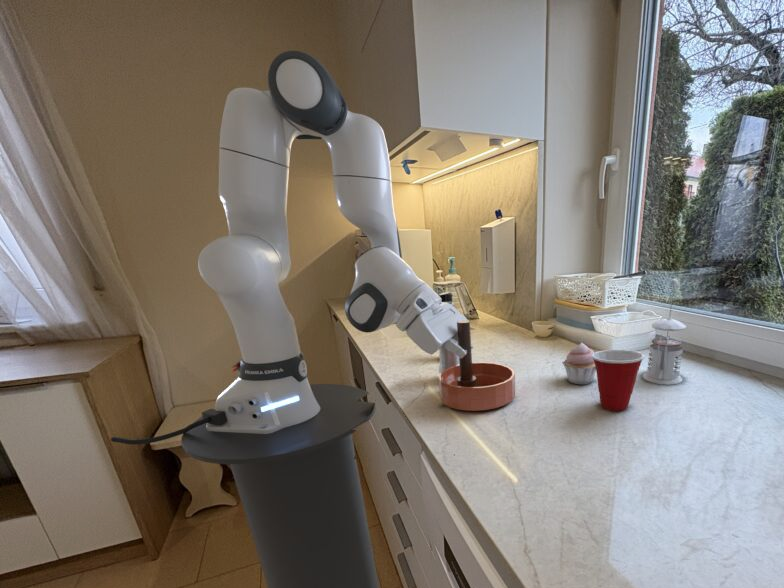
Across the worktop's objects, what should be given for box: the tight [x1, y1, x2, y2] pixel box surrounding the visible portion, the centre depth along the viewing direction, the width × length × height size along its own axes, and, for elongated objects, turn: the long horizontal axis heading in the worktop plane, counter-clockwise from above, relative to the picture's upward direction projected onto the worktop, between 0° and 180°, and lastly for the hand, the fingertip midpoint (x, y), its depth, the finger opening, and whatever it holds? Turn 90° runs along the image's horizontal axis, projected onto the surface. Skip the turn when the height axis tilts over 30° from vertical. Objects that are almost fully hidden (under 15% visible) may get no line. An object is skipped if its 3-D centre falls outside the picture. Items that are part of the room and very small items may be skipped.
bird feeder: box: [642, 278, 687, 386], centre depth 101 cm, size 10×12×25 cm
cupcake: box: [562, 342, 597, 385], centre depth 103 cm, size 9×9×10 cm
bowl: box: [437, 361, 516, 412], centre depth 94 cm, size 17×17×6 cm
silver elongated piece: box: [438, 301, 460, 375], centre depth 104 cm, size 6×7×20 cm
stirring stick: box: [457, 319, 477, 387], centre depth 91 cm, size 4×4×16 cm
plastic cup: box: [592, 349, 645, 412], centre depth 88 cm, size 11×11×12 cm
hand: (467, 353), depth 90 cm, fingers closed on stirring stick, 3 cm apart
